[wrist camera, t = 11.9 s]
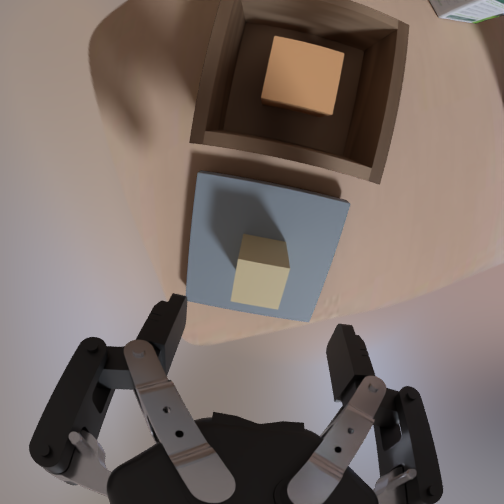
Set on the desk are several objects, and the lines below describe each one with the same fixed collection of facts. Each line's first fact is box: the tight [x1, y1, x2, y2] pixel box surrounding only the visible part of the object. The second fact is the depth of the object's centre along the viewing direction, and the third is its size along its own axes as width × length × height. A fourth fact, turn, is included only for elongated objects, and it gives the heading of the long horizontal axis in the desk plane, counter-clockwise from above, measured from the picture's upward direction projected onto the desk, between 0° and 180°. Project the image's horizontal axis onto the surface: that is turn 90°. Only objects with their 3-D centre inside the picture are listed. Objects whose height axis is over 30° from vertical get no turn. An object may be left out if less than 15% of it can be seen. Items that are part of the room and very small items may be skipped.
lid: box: [186, 170, 350, 322], centre depth 20 cm, size 11×11×6 cm
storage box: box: [189, 0, 409, 185], centre depth 13 cm, size 10×10×6 cm
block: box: [261, 36, 344, 117], centre depth 14 cm, size 4×4×4 cm
